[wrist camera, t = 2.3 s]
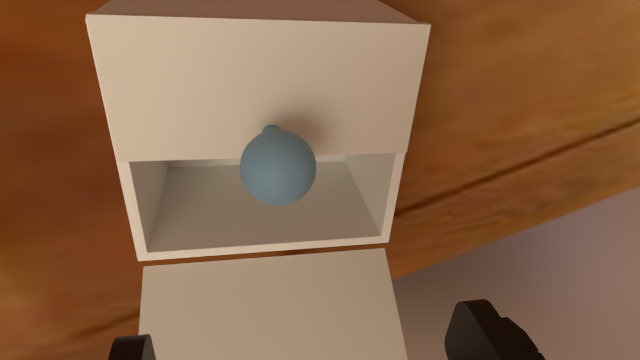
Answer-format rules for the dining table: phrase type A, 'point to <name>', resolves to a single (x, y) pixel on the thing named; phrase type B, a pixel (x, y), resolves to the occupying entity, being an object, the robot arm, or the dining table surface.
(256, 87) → the flap with blue knob
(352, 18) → the carton
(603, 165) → the dining table surface
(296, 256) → the flap open
